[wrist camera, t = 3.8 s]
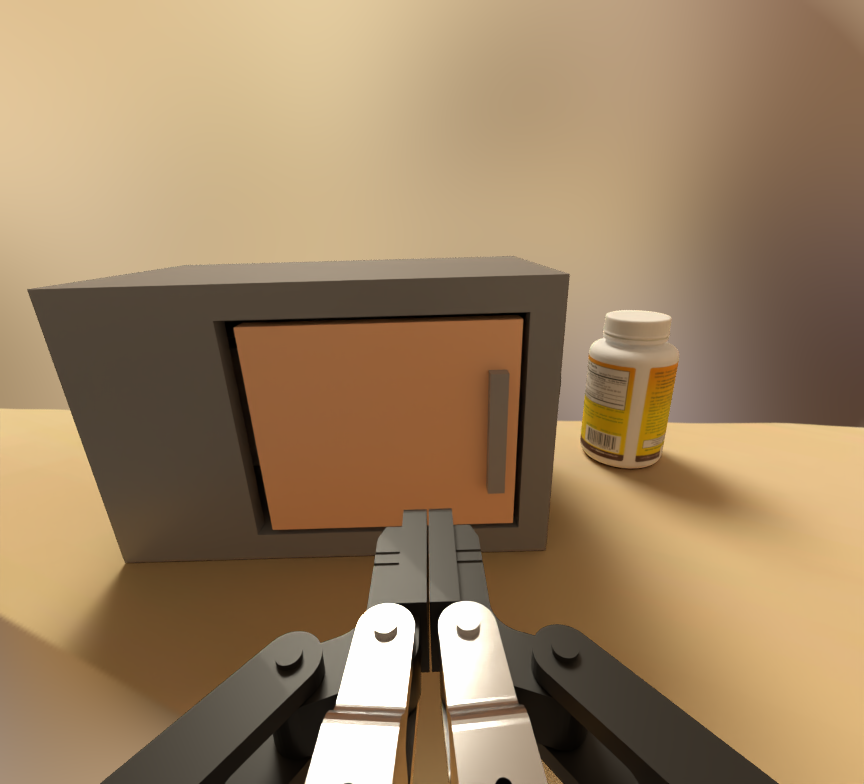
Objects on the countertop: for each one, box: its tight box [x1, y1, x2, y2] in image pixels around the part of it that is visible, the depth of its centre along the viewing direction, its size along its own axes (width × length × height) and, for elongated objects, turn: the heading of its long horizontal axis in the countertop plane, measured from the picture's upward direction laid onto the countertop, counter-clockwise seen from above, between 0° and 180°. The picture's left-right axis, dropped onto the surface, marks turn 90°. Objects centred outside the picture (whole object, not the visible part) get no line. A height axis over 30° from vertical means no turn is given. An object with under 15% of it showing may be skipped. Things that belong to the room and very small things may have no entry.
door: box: [234, 315, 523, 530], centre depth 20 cm, size 12×2×10 cm, turn 91°
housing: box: [28, 256, 569, 563], centre depth 25 cm, size 23×12×14 cm, turn 91°
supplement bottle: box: [581, 310, 679, 468], centre depth 30 cm, size 6×6×10 cm
